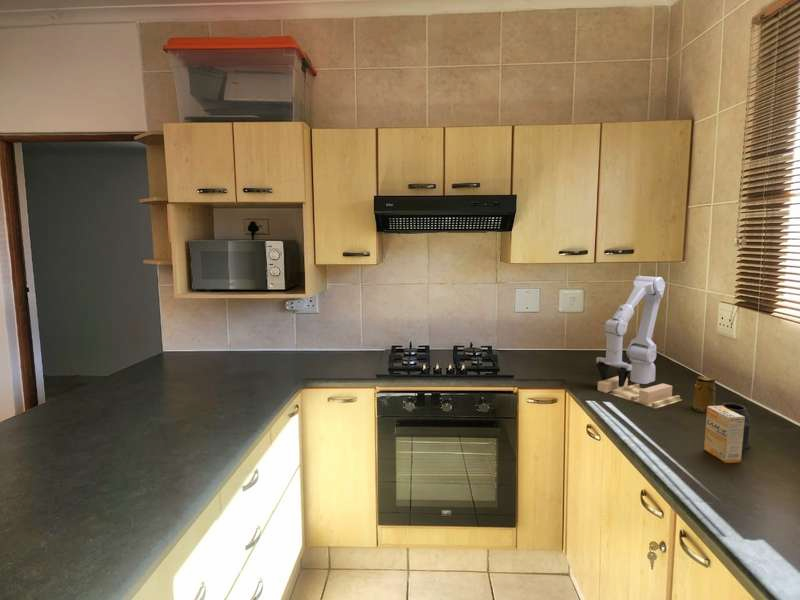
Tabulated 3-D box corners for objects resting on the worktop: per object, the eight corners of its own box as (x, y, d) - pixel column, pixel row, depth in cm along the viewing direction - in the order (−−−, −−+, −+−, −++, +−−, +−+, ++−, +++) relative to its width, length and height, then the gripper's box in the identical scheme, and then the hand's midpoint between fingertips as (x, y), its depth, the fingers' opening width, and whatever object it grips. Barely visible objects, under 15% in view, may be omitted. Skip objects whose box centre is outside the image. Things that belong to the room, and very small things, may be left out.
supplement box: (702, 450, 134) (705, 405, 132) (718, 449, 134) (721, 404, 132) (725, 463, 125) (728, 416, 124) (742, 462, 126) (745, 415, 124)
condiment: (700, 407, 166) (702, 374, 165) (725, 414, 159) (727, 380, 157) (686, 410, 163) (688, 377, 161) (712, 419, 155) (714, 383, 154)
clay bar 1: (619, 386, 191) (619, 375, 190) (627, 388, 188) (627, 377, 187) (597, 392, 184) (597, 381, 183) (605, 395, 181) (606, 384, 180)
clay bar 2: (662, 394, 177) (663, 383, 176) (671, 397, 174) (672, 385, 173) (638, 401, 170) (639, 389, 170) (648, 404, 167) (648, 392, 166)
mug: (707, 435, 143) (709, 400, 141) (741, 437, 141) (743, 401, 139) (725, 453, 131) (728, 414, 130) (762, 455, 129) (765, 416, 128)
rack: (636, 388, 187) (636, 382, 187) (682, 402, 171) (682, 396, 171) (609, 395, 180) (609, 389, 179) (655, 410, 164) (655, 404, 163)
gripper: (591, 347, 188) (590, 380, 190) (624, 355, 175) (622, 390, 177) (603, 345, 191) (602, 377, 193) (636, 352, 179) (634, 387, 181)
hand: (612, 383), depth 185 cm, fingers open, 7 cm apart
